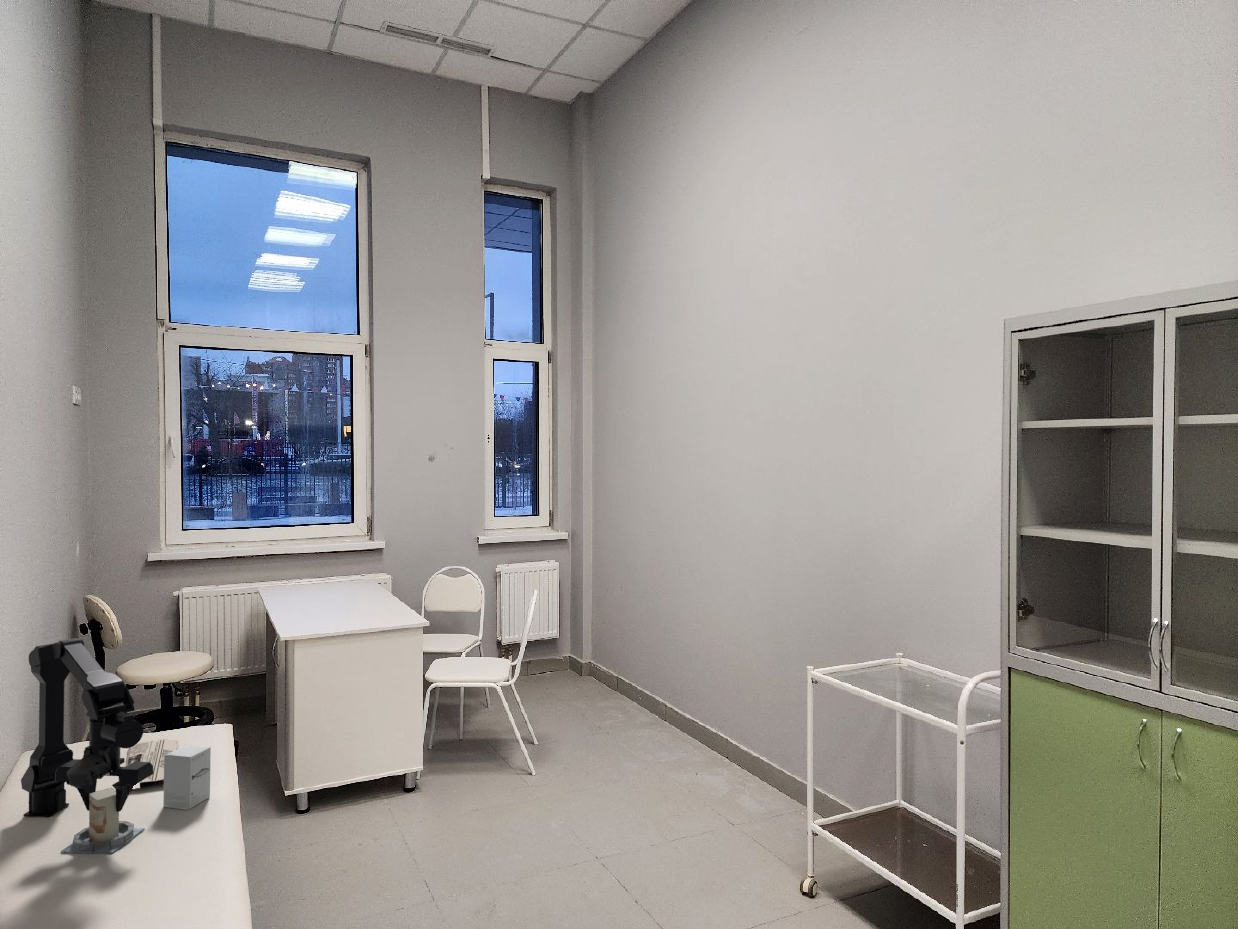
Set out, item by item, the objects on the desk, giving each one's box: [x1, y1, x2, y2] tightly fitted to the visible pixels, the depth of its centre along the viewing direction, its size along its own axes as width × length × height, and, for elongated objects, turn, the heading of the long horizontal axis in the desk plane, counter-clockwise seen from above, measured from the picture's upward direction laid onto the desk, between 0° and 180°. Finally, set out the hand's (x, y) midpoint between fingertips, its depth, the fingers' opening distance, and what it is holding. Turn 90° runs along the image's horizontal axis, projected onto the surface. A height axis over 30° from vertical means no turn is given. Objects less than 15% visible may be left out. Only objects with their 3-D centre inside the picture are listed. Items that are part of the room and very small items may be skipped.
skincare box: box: [88, 787, 120, 842], centre depth 172 cm, size 5×4×10 cm
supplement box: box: [162, 744, 212, 810], centre depth 192 cm, size 7×7×13 cm
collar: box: [60, 820, 146, 855], centre depth 172 cm, size 11×11×2 cm
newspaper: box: [125, 738, 179, 791], centre depth 215 cm, size 35×12×4 cm, turn 29°
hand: (104, 810), depth 173 cm, fingers closed on skincare box, 6 cm apart
